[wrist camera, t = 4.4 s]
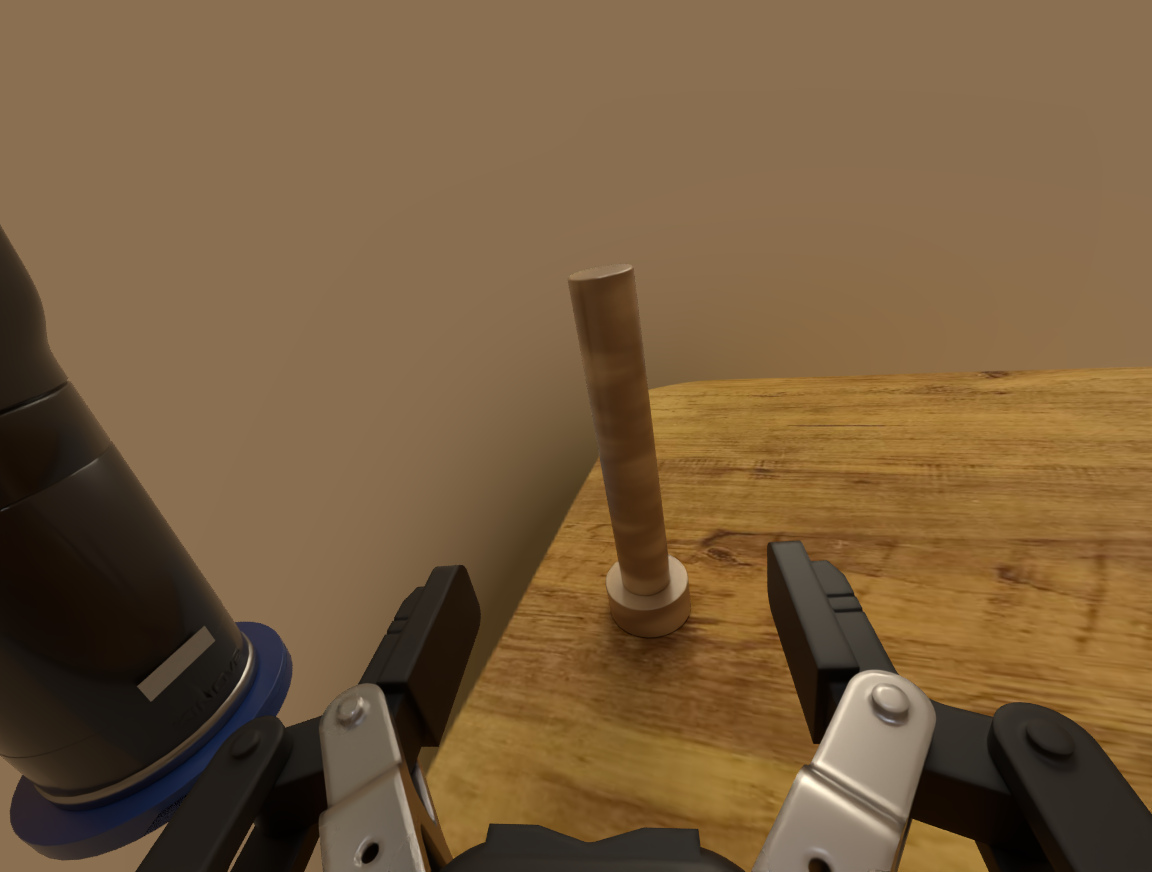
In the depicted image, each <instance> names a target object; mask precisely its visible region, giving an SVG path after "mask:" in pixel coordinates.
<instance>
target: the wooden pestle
mask: <svg viewBox="0 0 1152 872" xmlns="http://www.w3.org/2000/svg"><path fill="white" fill-rule="evenodd" d="M568 284H569V289H570V295H571V301H572V306H573V312H574V317H575V323H576V328H577V333H578V339H579V345H580V350H581V356H582V361H583V367H584V373H585V377H586V384H587V389H588V395H589V400H590V406H591V412H592V417H593V423H594V428H595V433H596V439H597V445H598V450H599V456H600V462H601V467H602V473H603V478H604V484H605V489H606V495H607V500H608V506H609V512H610V517H611V523H612V528H613V534H614V539H615V545H616V550H617V556H618V561H617V562H616V563H615V564H614V565H613V566H612V567H611V568H610V570H609V572H608V574H607V577H606V589H607V594H608V599H609V604H610V609H611V614H612V616H613V619H614V620H615V622H616V623H617V624H618V626H620V627H621V628H622V629H623V630H625V631H626V632H628V633H630V634H633V635H635V636H640V637H659V636H664V635H667V634H669V633H671V632H673V631H675V630H677V629H678V628H679V627H680V626H681V625H682V624H683V623H684V622H685V621H686V619H687V618H688V616H689V613H690V609H691V602H690V592H689V582H688V574H687V571H686V569H685V567H684V566H683V565H682V563H681V562H680V561H678V560H677V559H676V558H674V557H673V556H671V555H668V550H667V542H666V534H665V525H664V517H663V509H662V500H661V492H660V484H659V476H658V467H657V459H656V451H655V442H654V434H653V426H652V418H651V409H650V401H649V393H648V384H647V376H646V368H645V360H644V351H643V343H642V335H641V327H640V318H639V310H638V302H637V294H636V285H635V276H634V269H633V266H632V265H627V264H618V265H608V266H602V267H596V268H592V269H588V270H584V271H581V272H577V273H575V274H573V275H571V276H569V277H568Z"/></svg>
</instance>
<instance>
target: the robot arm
mask: <svg viewBox="0 0 1152 872" xmlns="http://www.w3.org/2000/svg"><path fill="white" fill-rule="evenodd" d="M67 379H68V377H67V376H66V374H65V373H64V371H63V370H62V368H61V367H60V365H59V364H58V362H57V360H56V359H55V357H54V356H53V353H52V352H51V350H50V347H49V344H48V340H47V333H46V321H45V315H44V310H43V306H42V302H41V299H40V296H39V294H38V291H37V289H36V287H35V285H34V283H33V281H32V279H31V277H30V275H29V273H28V271H27V270H26V268H25V266H24V264H23V263H22V261H21V259H20V258H19V256H18V254H17V253H16V251H15V249H14V248H13V246H12V244H11V243H10V241H9V239H8V237H7V236H6V234H5V232H4V230H3V229H2V227H1V225H0V756H1V757H3V758H4V759H5V760H6V761H7V762H9V763H10V764H11V765H12V766H13V767H14V768H16V769H17V770H18V771H19V772H20V773H22V774H23V775H24V776H25V777H26V778H27V779H29V780H30V781H31V782H32V783H33V784H34V786H35V788H36V790H37V791H38V792H39V793H40V794H41V795H42V796H43V797H45V798H46V799H47V800H48V801H49V802H50V803H52V804H53V805H54V806H56V807H58V808H60V809H64V810H71V811H79V810H88V809H93V808H97V807H101V806H104V805H107V804H110V803H113V802H116V801H118V800H121V799H123V798H126V797H128V796H130V795H132V794H134V793H136V792H138V791H140V790H142V789H144V788H145V787H147V786H149V785H151V784H152V783H154V782H156V781H157V780H159V779H161V778H162V777H164V776H165V775H167V774H168V773H170V772H171V771H173V770H174V769H175V768H177V767H178V766H180V765H181V764H182V763H184V762H185V761H186V760H187V759H189V758H190V757H191V756H192V755H194V754H195V753H196V752H197V751H198V750H200V749H201V748H202V747H203V746H204V745H205V744H206V743H207V742H208V741H209V740H210V739H212V738H213V737H214V736H215V735H216V734H217V733H218V732H219V730H220V729H221V728H222V727H223V726H224V725H225V724H226V723H227V722H228V721H229V719H230V718H231V717H232V716H233V715H234V713H235V712H236V711H237V709H238V708H239V707H240V705H241V704H242V702H243V701H244V699H245V698H246V696H247V694H248V693H249V691H250V689H251V687H252V685H253V682H254V680H255V678H256V674H257V671H258V664H259V659H258V653H257V651H256V649H255V647H254V646H253V644H252V643H251V641H250V640H249V638H248V637H247V636H246V635H245V634H244V633H243V632H241V631H240V630H239V628H238V627H237V625H236V624H235V622H234V621H233V619H232V618H231V616H230V615H229V613H228V612H227V610H226V609H225V607H224V606H223V604H222V602H221V600H220V599H219V598H218V596H217V595H216V593H215V592H214V590H213V589H212V587H211V586H210V584H209V583H208V582H207V580H206V578H205V577H204V576H203V574H202V573H201V571H200V570H199V568H198V567H197V566H196V564H195V563H194V561H193V559H192V558H191V556H190V555H189V554H188V552H187V551H186V549H185V548H184V546H183V545H182V544H181V542H180V540H179V539H178V537H177V536H176V535H175V533H174V532H173V530H172V529H171V527H170V526H169V524H168V523H167V521H166V520H165V518H164V517H163V515H162V514H161V513H160V511H159V510H158V508H157V507H156V505H155V504H154V502H153V501H152V499H151V498H150V497H149V495H148V493H147V492H146V491H145V489H144V488H143V486H142V485H141V483H140V482H139V480H138V479H137V477H136V476H135V474H134V473H133V471H132V470H131V469H130V467H129V466H128V464H127V463H126V461H125V460H124V458H123V457H122V455H121V454H120V452H119V451H118V450H117V448H116V447H115V445H114V444H113V442H112V441H110V438H109V437H108V436H107V434H106V433H105V431H104V430H103V428H102V427H101V425H100V424H99V422H98V421H97V419H96V418H95V416H94V415H93V414H92V412H91V411H90V409H89V408H88V406H87V405H86V403H85V402H84V401H83V399H82V397H81V396H80V395H79V393H78V392H77V390H76V389H75V387H74V386H73V384H72V383H71V382H69V381H67ZM767 587H768V598H769V604H770V609H771V613H772V616H773V619H774V622H775V625H776V628H777V632H778V635H779V638H780V641H781V644H782V647H783V650H784V653H785V656H786V660H787V663H788V666H789V669H790V672H791V675H792V678H793V681H794V685H795V688H796V691H797V694H798V697H799V700H800V703H801V706H802V709H803V713H804V716H805V719H806V722H807V725H808V728H809V731H810V734H811V738H812V741H813V744H820V745H819V747H818V750H817V752H816V754H815V756H814V758H813V760H812V762H811V763H810V765H804V766H803V767H802V768H801V770H800V771H799V773H798V774H797V776H796V778H795V780H794V782H793V785H792V787H791V789H790V791H789V793H788V795H787V797H786V799H785V801H784V803H783V805H782V808H781V810H780V812H779V814H778V816H777V818H776V820H775V822H774V824H773V826H772V829H771V831H770V833H769V835H768V837H767V839H766V841H765V843H764V845H763V847H762V850H761V852H760V854H759V856H758V858H757V860H756V862H755V864H754V866H753V868H752V871H751V872H897V871H898V868H899V864H900V861H901V857H902V854H903V850H904V847H905V844H906V840H907V837H908V833H909V830H910V826H911V823H912V820H913V819H915V820H918V821H920V822H923V823H926V824H929V825H932V826H935V827H938V828H941V829H944V830H947V831H949V832H952V833H955V834H958V835H961V836H964V837H967V838H970V839H973V840H975V842H976V845H977V847H978V849H979V851H980V853H981V855H982V858H983V860H984V862H985V864H986V866H987V868H988V871H989V872H1152V814H1151V813H1150V811H1149V810H1148V809H1147V807H1146V806H1145V805H1144V803H1143V802H1142V801H1141V799H1140V798H1139V797H1138V795H1137V794H1136V793H1135V791H1134V790H1133V789H1132V788H1131V786H1130V785H1129V784H1128V782H1127V781H1126V780H1125V778H1124V777H1123V776H1122V774H1121V773H1120V772H1119V770H1118V769H1117V768H1116V766H1115V765H1114V764H1113V762H1112V761H1111V760H1110V758H1109V757H1108V756H1107V754H1106V753H1105V752H1104V750H1103V749H1102V748H1101V746H1100V745H1099V744H1098V743H1097V742H1096V740H1095V739H1094V738H1093V737H1092V736H1091V735H1090V734H1089V733H1088V732H1087V731H1086V730H1084V729H1083V728H1082V727H1081V726H1079V725H1078V724H1077V723H1075V722H1074V721H1072V720H1071V719H1069V718H1068V717H1066V716H1064V715H1062V714H1060V713H1058V712H1056V711H1054V710H1051V709H1049V708H1046V707H1043V706H1040V705H1036V704H1031V703H1023V702H1016V703H1009V704H1006V705H1003V706H1001V707H1000V708H999V709H998V710H997V711H996V712H995V714H994V716H993V717H991V716H987V715H983V714H979V713H975V712H971V711H967V710H963V709H959V708H955V707H951V706H947V705H944V704H941V703H938V702H936V701H934V700H931V699H929V698H928V697H927V696H926V694H925V693H924V692H923V691H922V690H921V689H920V688H918V687H917V686H916V685H915V684H914V683H912V682H910V681H909V680H907V679H905V678H904V677H902V676H900V675H899V674H898V673H897V671H896V670H895V668H894V666H893V665H892V663H891V661H890V659H889V657H888V655H887V653H886V652H885V650H884V648H883V646H882V644H881V642H880V640H879V638H878V637H877V635H876V633H875V631H874V629H873V627H872V625H871V624H870V622H869V620H868V618H867V616H866V614H865V612H863V611H862V607H861V605H860V603H859V601H858V599H857V597H855V595H854V592H853V590H852V588H851V586H850V584H849V583H848V581H847V579H846V577H845V575H844V574H843V573H841V572H840V571H839V570H838V569H837V568H835V567H834V566H833V565H832V564H831V563H830V562H828V561H827V560H825V561H810V559H809V557H808V555H807V552H806V550H805V548H804V546H803V544H802V542H801V541H784V542H770V543H768V546H767ZM480 615H481V613H480V606H479V603H478V600H477V597H476V594H475V591H474V589H473V586H472V583H471V580H470V577H469V575H468V572H467V569H466V568H465V567H464V566H463V565H454V566H440V567H435V568H434V569H433V571H432V573H431V575H430V576H429V578H428V580H427V582H426V585H425V586H424V587H417V588H416V589H415V590H414V591H413V592H412V593H411V594H410V595H409V596H408V597H407V598H406V599H405V600H404V601H403V603H402V604H401V606H400V608H399V610H398V612H397V614H396V615H395V617H394V621H392V623H391V625H390V626H389V628H388V630H387V635H385V636H384V638H383V639H382V641H381V643H380V645H379V647H378V649H377V651H376V652H375V654H374V656H373V658H372V660H371V662H370V663H369V665H368V667H367V669H366V671H365V672H364V674H363V676H362V678H361V680H360V682H359V683H358V685H356V686H354V687H351V688H349V689H347V690H346V691H344V692H343V693H341V694H340V695H339V696H337V697H336V698H335V699H334V700H333V701H332V702H331V703H330V705H329V706H328V707H327V709H326V710H325V712H324V713H323V715H322V716H319V717H317V718H313V719H310V720H307V721H305V722H302V723H298V724H296V725H292V726H289V727H286V728H285V726H284V725H283V724H282V722H281V721H280V720H279V718H277V717H275V716H262V717H258V718H255V719H253V720H251V721H249V722H247V723H245V724H244V725H242V726H241V727H239V728H238V729H237V730H236V731H234V732H233V733H232V734H231V735H230V736H229V737H228V738H227V739H226V740H225V741H224V742H223V743H222V745H221V746H220V747H219V749H218V750H217V752H216V753H215V755H214V756H213V758H212V759H211V761H210V762H209V764H208V765H207V766H206V768H205V769H204V771H203V772H202V774H201V775H200V777H199V778H198V780H197V781H196V783H195V784H194V786H193V787H192V789H191V790H190V792H189V793H188V795H187V796H186V798H185V799H184V801H183V802H182V803H181V805H180V806H179V808H178V809H177V811H176V812H175V814H174V815H173V817H172V818H171V820H170V821H169V823H168V824H167V826H166V827H165V829H164V830H163V832H162V833H161V835H160V836H159V838H158V839H157V841H156V842H155V843H154V845H153V846H152V848H151V849H150V851H149V853H148V854H147V855H146V857H145V858H144V860H143V861H142V863H141V864H140V866H139V867H138V869H137V870H136V872H227V871H228V869H229V866H230V864H231V862H232V860H233V858H234V857H235V855H236V853H237V851H238V849H239V847H240V845H241V844H242V842H243V840H244V838H245V836H246V835H247V833H248V831H249V829H250V827H251V825H252V824H253V823H254V824H255V827H254V829H253V831H252V832H251V834H250V836H249V838H248V840H247V842H246V844H245V845H244V847H243V849H242V851H241V853H240V855H239V857H238V858H237V860H236V862H235V864H234V866H233V868H232V870H231V871H230V872H304V871H305V869H306V866H307V864H308V862H309V860H310V857H311V855H312V853H313V850H314V848H315V845H316V843H317V841H318V838H319V836H320V845H321V854H322V866H323V872H745V871H744V870H743V869H742V868H740V867H739V866H737V865H736V864H734V863H733V862H731V861H730V860H728V859H727V858H725V857H723V856H721V855H719V854H717V853H715V852H713V851H711V850H708V849H705V848H702V847H700V839H699V831H698V829H678V828H641V829H638V830H634V831H631V832H627V833H624V834H620V835H617V836H613V837H610V838H606V839H603V840H599V841H596V842H584V841H581V840H578V839H575V838H573V837H570V836H567V835H564V834H562V833H559V832H556V831H553V830H551V829H548V828H545V827H542V826H540V825H523V824H489V828H488V833H487V838H486V842H485V843H481V844H479V845H477V846H475V847H472V848H470V849H468V850H467V851H465V852H463V853H462V854H460V855H458V856H457V857H456V858H454V859H453V858H452V855H451V853H450V851H449V848H448V846H447V844H446V841H445V838H444V836H443V833H442V830H441V826H440V823H439V820H438V817H437V813H436V810H435V807H434V804H433V800H432V797H431V794H430V791H429V787H428V784H427V781H426V778H425V774H424V771H423V768H422V765H421V762H420V760H419V759H418V754H419V752H420V749H421V747H439V744H440V741H441V738H442V735H443V732H444V729H445V726H446V724H447V721H448V717H449V715H450V712H451V709H452V706H453V703H454V700H455V697H456V694H457V691H458V688H459V686H460V682H461V679H462V677H463V674H464V671H465V668H466V665H467V662H468V659H469V656H470V653H471V650H472V648H473V645H474V642H475V638H476V636H477V633H478V630H479V626H480V619H481V618H480V617H481V616H480Z"/></svg>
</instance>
